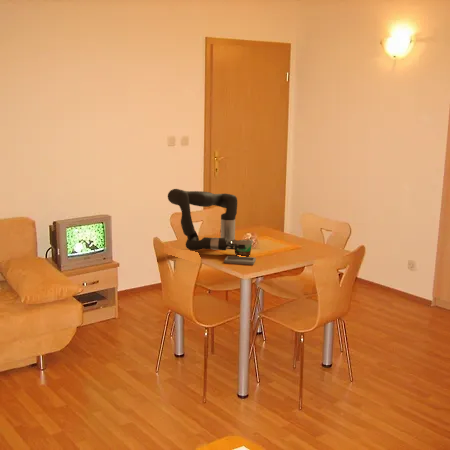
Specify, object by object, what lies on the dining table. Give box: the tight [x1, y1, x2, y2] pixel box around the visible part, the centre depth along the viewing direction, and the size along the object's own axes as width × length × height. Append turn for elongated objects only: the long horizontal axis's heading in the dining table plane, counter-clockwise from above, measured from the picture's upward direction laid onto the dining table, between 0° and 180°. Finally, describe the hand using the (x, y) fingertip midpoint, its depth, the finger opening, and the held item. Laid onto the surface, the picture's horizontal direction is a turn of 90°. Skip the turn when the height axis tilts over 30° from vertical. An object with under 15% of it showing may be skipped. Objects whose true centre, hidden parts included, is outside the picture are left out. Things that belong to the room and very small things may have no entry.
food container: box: [233, 238, 254, 257], centre depth 371 cm, size 12×6×10 cm, turn 100°
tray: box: [223, 255, 257, 266], centre depth 359 cm, size 10×17×2 cm, turn 80°
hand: (245, 245), depth 370 cm, fingers closed on food container, 7 cm apart
